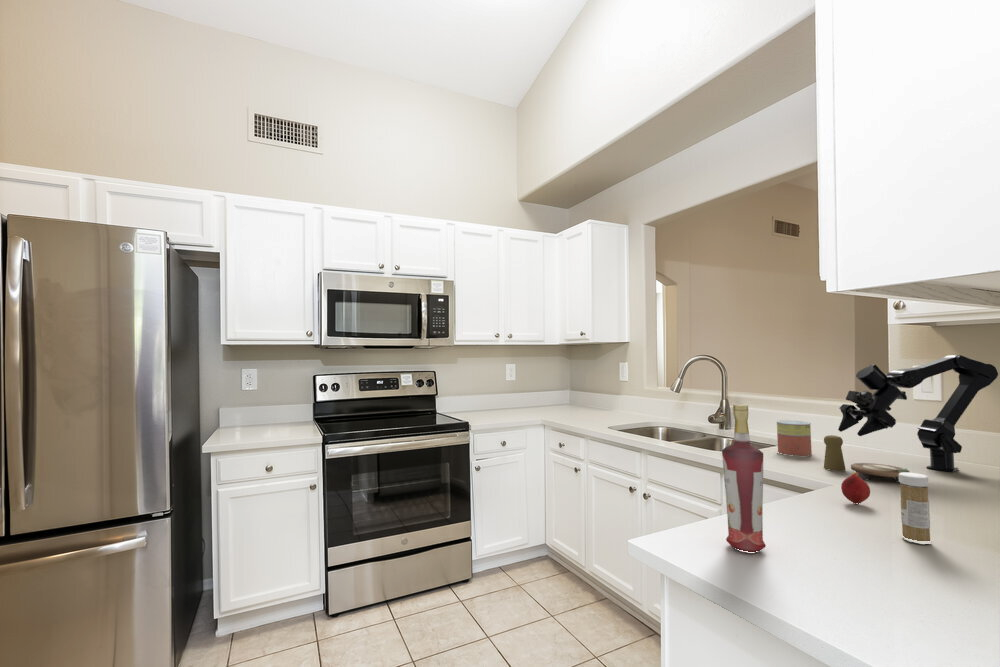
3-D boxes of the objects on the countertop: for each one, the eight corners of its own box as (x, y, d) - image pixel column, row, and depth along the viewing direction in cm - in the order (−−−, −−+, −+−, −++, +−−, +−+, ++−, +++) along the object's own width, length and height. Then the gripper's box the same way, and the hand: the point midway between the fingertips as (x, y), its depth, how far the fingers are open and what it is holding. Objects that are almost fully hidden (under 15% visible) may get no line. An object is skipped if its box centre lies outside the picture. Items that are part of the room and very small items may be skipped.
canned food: (817, 456, 175) (816, 424, 175) (785, 456, 176) (784, 424, 177) (803, 451, 186) (802, 420, 186) (772, 450, 188) (771, 420, 188)
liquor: (770, 559, 87) (764, 407, 88) (726, 553, 89) (721, 406, 91) (764, 544, 94) (758, 404, 95) (723, 539, 96) (719, 403, 98)
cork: (845, 472, 151) (844, 437, 152) (823, 469, 155) (821, 436, 156) (845, 468, 156) (844, 435, 157) (824, 466, 160) (822, 433, 160)
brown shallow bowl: (862, 470, 153) (861, 458, 154) (917, 479, 141) (917, 466, 142) (843, 476, 146) (842, 464, 146) (900, 486, 134) (899, 473, 134)
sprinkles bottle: (902, 535, 98) (898, 470, 98) (932, 541, 95) (928, 473, 95) (901, 542, 94) (897, 474, 95) (932, 548, 91) (928, 478, 92)
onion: (858, 509, 115) (857, 476, 115) (836, 502, 120) (834, 470, 121) (876, 506, 116) (874, 474, 117) (853, 500, 122) (851, 469, 122)
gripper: (843, 381, 166) (813, 412, 166) (884, 384, 147) (849, 419, 147) (868, 403, 165) (837, 435, 165) (911, 409, 146) (876, 444, 146)
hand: (848, 432), depth 156 cm, fingers open, 9 cm apart
